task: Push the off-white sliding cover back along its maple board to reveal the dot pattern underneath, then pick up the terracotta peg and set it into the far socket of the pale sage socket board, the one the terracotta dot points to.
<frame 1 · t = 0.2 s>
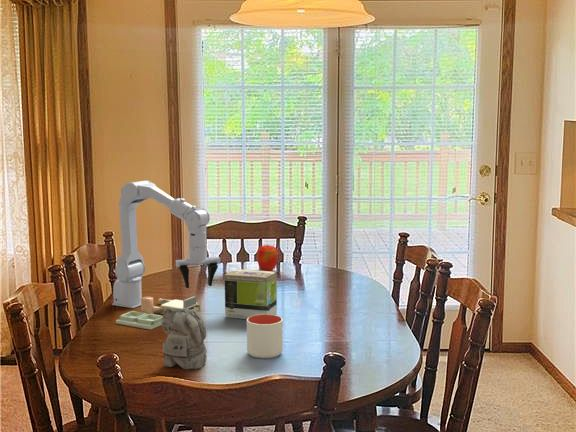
hand: (198, 286, 228), 10 cm above the table, fingers open, 7 cm apart
apple: (267, 271, 295), on the table
cup: (264, 354, 193), on the table
tea box: (251, 316, 230), on the table
lid: (179, 301, 234), point 4 cm above the table, slide at 0.0 cm
peg: (147, 315, 229), on the table
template: (179, 311, 234), on the table
socket board: (142, 322, 221), on the table
figurine: (185, 364, 185), on the table
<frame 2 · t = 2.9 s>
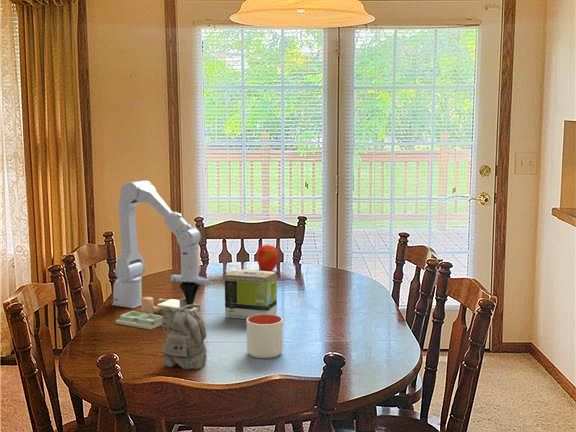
hand: (190, 304, 232), 3 cm above the table, fingers closed
lid: (175, 300, 234), point 4 cm above the table, slide at 1.5 cm, touching gripper
everything else where it was.
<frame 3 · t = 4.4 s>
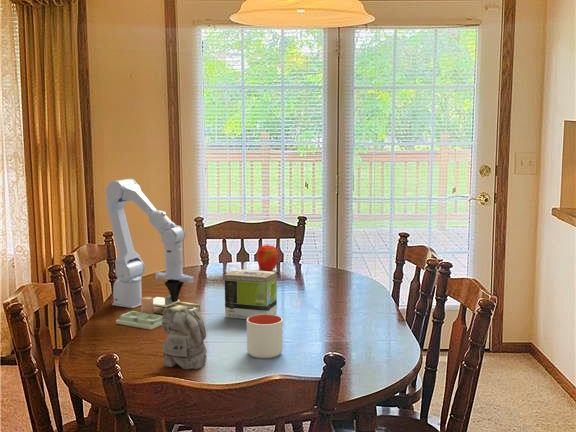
hand: (174, 301, 235), 3 cm above the table, fingers closed
lid: (161, 298, 237), point 4 cm above the table, slide at 7.6 cm, touching gripper
everything else where it was.
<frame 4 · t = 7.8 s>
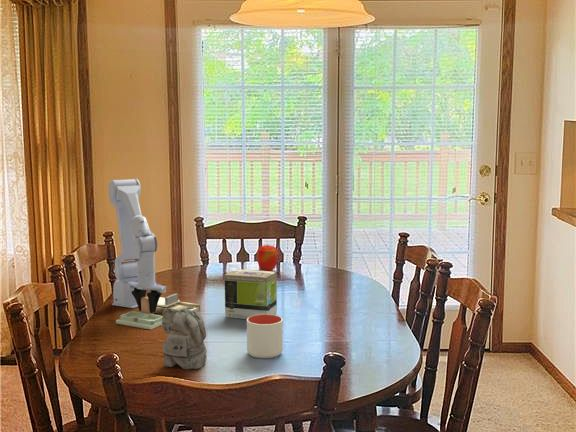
hand: (147, 311, 229), 1 cm above the table, fingers closed on peg, 4 cm apart
lid: (161, 298, 237), point 4 cm above the table, slide at 7.5 cm
peg: (147, 315, 229), on the table, touching gripper
everything else where it was.
when the fingers open (4 cm above the table, at t = 10.6 s): peg drops 1 cm, resting on socket board.
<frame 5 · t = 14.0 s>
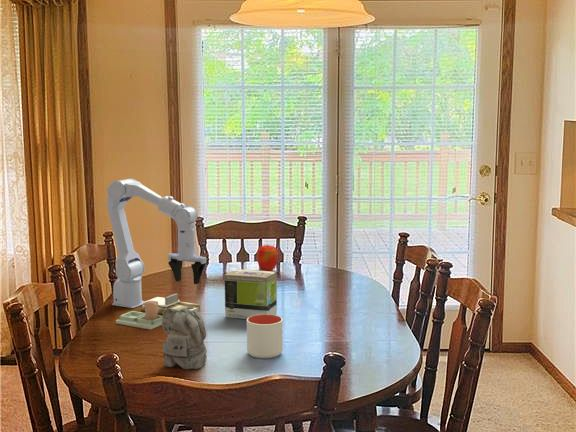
hand: (187, 282, 234), 10 cm above the table, fingers open, 7 cm apart
peg: (151, 320, 220), point 1 cm above the table, touching socket board
everything else where it was.
at the end: lid slide at 7.5 cm; peg 0.2 cm from the target spot on the socket board, point 1.1 cm above the socket board's base; peg tilted 2° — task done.
